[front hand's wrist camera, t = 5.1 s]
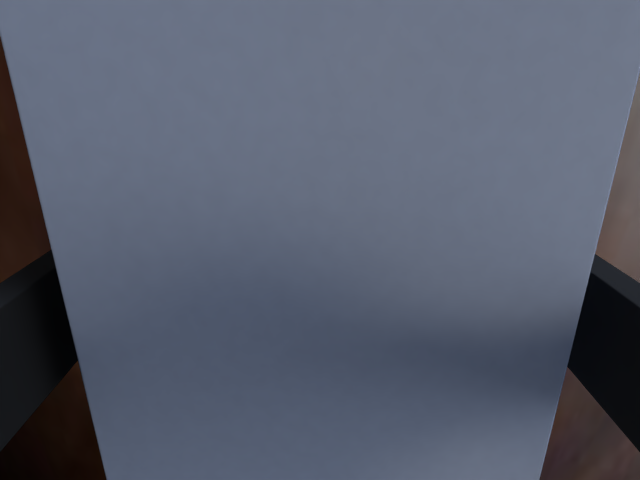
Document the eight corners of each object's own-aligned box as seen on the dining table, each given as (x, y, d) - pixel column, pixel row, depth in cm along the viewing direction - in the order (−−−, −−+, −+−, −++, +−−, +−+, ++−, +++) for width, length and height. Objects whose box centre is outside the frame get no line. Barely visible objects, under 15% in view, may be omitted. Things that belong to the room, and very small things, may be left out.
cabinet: (162, -203, 14) (-228, -895, 4) (483, -204, 14) (882, -900, 4) (211, 292, 21) (108, 494, 11) (431, 293, 21) (536, 495, 11)
